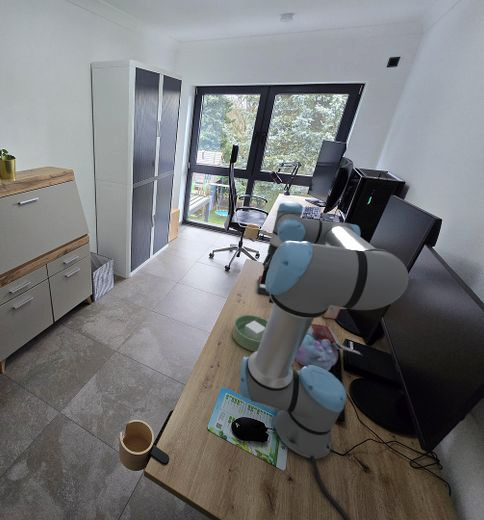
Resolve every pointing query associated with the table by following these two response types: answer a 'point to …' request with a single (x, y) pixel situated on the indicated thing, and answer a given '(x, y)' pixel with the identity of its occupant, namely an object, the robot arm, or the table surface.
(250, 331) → the white cube
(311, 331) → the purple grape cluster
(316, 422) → the robot arm
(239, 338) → the bowl
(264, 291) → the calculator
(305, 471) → the table surface
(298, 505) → the table surface
